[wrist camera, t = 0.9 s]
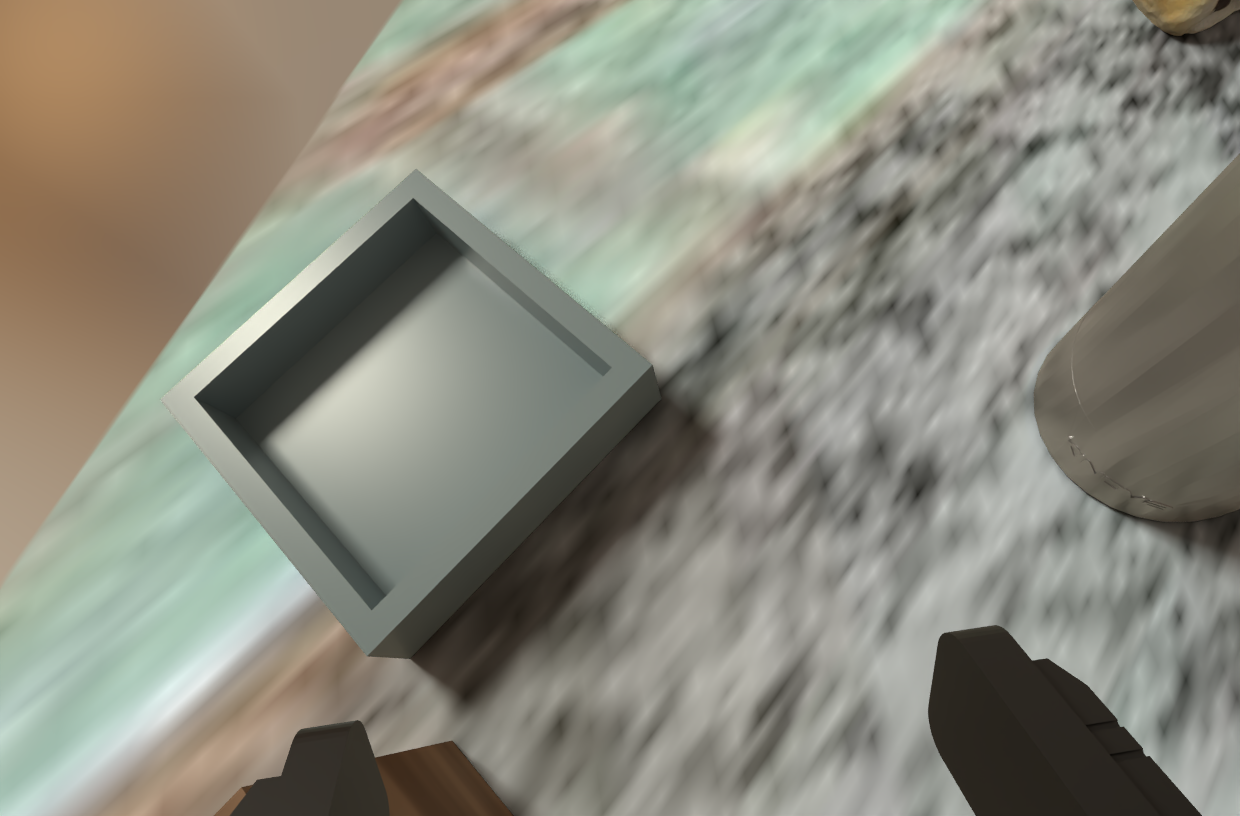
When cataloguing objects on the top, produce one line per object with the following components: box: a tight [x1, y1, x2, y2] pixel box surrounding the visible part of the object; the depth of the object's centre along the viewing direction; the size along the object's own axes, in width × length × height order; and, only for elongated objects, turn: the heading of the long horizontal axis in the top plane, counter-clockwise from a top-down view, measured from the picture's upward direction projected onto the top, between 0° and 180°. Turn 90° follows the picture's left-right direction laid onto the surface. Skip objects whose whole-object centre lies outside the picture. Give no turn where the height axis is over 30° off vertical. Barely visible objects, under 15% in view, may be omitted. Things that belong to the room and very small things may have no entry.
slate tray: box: [160, 169, 661, 659], centre depth 34 cm, size 16×16×4 cm
